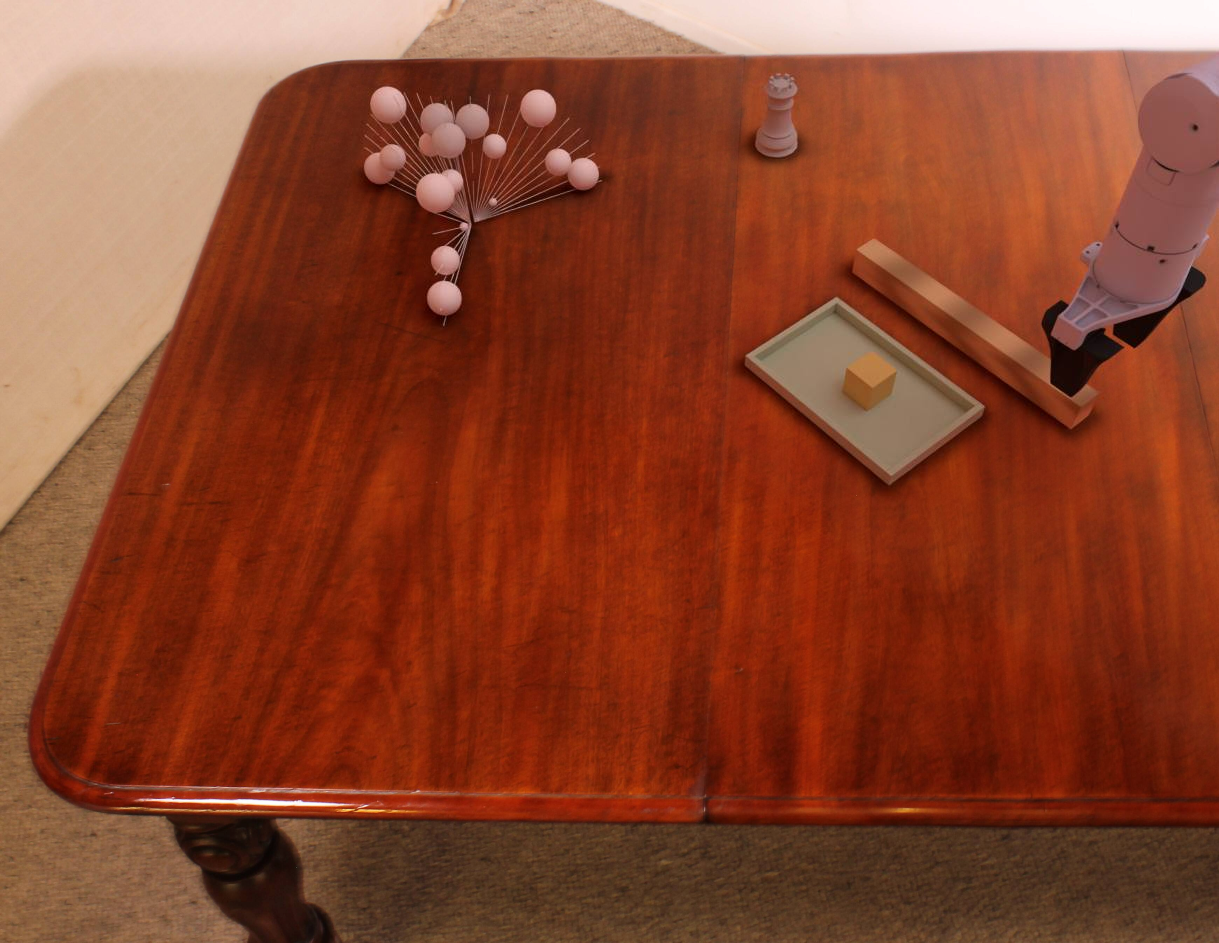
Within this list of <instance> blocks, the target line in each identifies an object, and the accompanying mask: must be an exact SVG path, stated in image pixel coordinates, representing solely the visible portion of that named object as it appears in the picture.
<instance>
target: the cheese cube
mask: <svg viewBox="0 0 1219 943" xmlns="http://www.w3.org/2000/svg"><path fill="white" fill-rule="evenodd" d="M896 374H897V370H896V369H895V368H893V367H892V366H891V365H889V364H888V363H887V362H886V361H884V360H883V359H882V358H880V357H879V356H878V355H876V354H875V353H874V352H872V351H871V352H869V353H868V354H866V355H865V356H863V357H862V358H860V359H859V360H857V361H856V362H854V363H853V364H851V365H850V366H848V367H847V369H846V374H845V379H844V385H843V390H842V391H843V392H844V393H846V394H847V395H848V396H849V397H851V398H852V399H853V400H854V401H856V402H857V403H858V404H859V405H861V406H862V407H863V408H865V409H866V410H867V411H868V410H869V409H871V408H872V407H874V406H875V405H877V404H878V403H879V402H881V401H882V400H884V399H885V398H886V397H888V396H889V395H891V394H892V391H893V387H894V383H895V379H896Z"/></svg>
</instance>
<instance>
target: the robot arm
mask: <svg viewBox="0 0 1219 943" xmlns="http://www.w3.org/2000/svg"><path fill="white" fill-rule="evenodd" d="M1137 127H1138V133H1139V136H1140V139H1141V142H1142V144H1143V145H1142V147H1141V150H1140V152H1139V155H1138V157H1137V159H1136V161H1135V165H1134V167H1133V169H1132V171H1131V174H1130V177H1129V179H1128V181H1127V183H1126V186H1125V189H1124V191H1123V193H1122V195H1121V198H1120V201H1119V203H1118V206H1117V208H1116V210H1115V213H1114V215H1113V218H1112V220H1111V222H1110V225H1109V227H1108V230H1107V232H1106V235H1105V236H1104V238H1103V242H1101V241H1094V242H1092V243H1090V244H1089V245H1088V246H1086V247H1085V248H1084V249H1083V250H1081V253H1080V255H1079V261H1080V262H1082V263H1083V264H1085V265H1086V266H1087V270H1086V272H1085V274H1084V276H1083V278H1082V280H1081V282H1080V284H1079V285H1078V288H1077V290H1076V292H1075V294H1074V296H1073V298H1072V300H1071V302H1070V303H1067V302H1065V301H1064V300H1062V299H1060V300H1058V301H1057V302H1056V303H1054V304H1053V305H1051V306H1050V307H1048V308H1047V309H1046V310H1045V312H1044V314H1043V316H1042V319H1041V322H1040V326H1041V328H1042V330H1043V332H1044V334H1045V336H1046V339H1047V342H1048V346H1049V351H1050V352H1049V353H1050V359H1051V367H1050V384H1052V385H1053V386H1055V387H1056V388H1057V389H1059V390H1060V391H1062V392H1063V393H1065V394H1066V395H1067V396H1069V397H1073V396H1074V395H1075V394H1077V393H1078V392H1079V391H1080V390H1081V389H1082V388H1083V387H1084V386H1085V385H1086V384H1088V383H1089V381H1090V379H1091V378H1092V377H1093V375H1094V374H1095V372H1096V371H1097V369H1098V368H1099V367H1100V366H1101V365H1102V364H1103V363H1105V362H1107V361H1109V360H1111V359H1112V358H1113V357H1114V356H1116V355H1117V354H1118V353H1119V352H1121V351H1122V350H1123V349H1124V348H1125V346H1123V345H1122V344H1120V343H1119V342H1118V341H1116V340H1115V339H1113V338H1111V337H1109V336H1108V335H1107V334H1105V333H1106V330H1107V329H1106V328H1105V327H1109V326H1112V325H1113V328H1112V336H1114V337H1116V338H1117V339H1119V340H1120V341H1121V342H1123V343H1125V344H1127V345H1128V346H1129V347H1131V348H1132V349H1136V348H1137V347H1139V346H1140V345H1141V344H1143V343H1144V342H1145V341H1146V340H1147V339H1148V338H1149V336H1151V335H1152V333H1153V332H1154V331H1155V330H1156V329H1157V328H1158V326H1159V325H1160V324H1161V323H1162V322H1163V320H1164V319H1165V318H1166V317H1167V316H1168V315H1169V314H1170V313H1171V311H1173V310H1174V309H1175V308H1176V307H1177V306H1178V305H1179V304H1181V303H1182V302H1184V301H1185V300H1187V299H1189V298H1191V297H1192V296H1193V295H1194V294H1196V293H1197V292H1198V291H1200V290H1202V289H1203V287H1204V286H1205V284H1206V282H1207V277H1206V275H1205V273H1203V272H1202V271H1201V270H1200V269H1197V268H1196V267H1194V266H1193V263H1194V261H1195V260H1196V259H1198V258H1199V257H1200V256H1201V254H1202V252H1203V251H1204V249H1205V247H1206V245H1207V243H1208V241H1209V239H1210V235H1209V234H1207V233H1208V231H1209V230H1210V227H1211V225H1212V223H1213V221H1214V219H1215V217H1216V215H1217V213H1218V211H1219V51H1218V52H1216V53H1214V54H1213V55H1209V56H1208V57H1206V58H1204V59H1201V60H1200V61H1198V62H1195V63H1193V64H1191V65H1189V66H1188V67H1185V68H1184V69H1181V70H1179V71H1177V72H1175V73H1173V74H1171V75H1168V76H1166V77H1165V78H1164V79H1162V80H1160V81H1159V82H1157V83H1156V84H1154V85H1153V86H1152V87H1150V89H1149V90H1148V91H1147V92H1146V93H1145V94H1144V97H1143V99H1142V100H1141V103H1140V105H1139V110H1138V115H1137Z"/></svg>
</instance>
